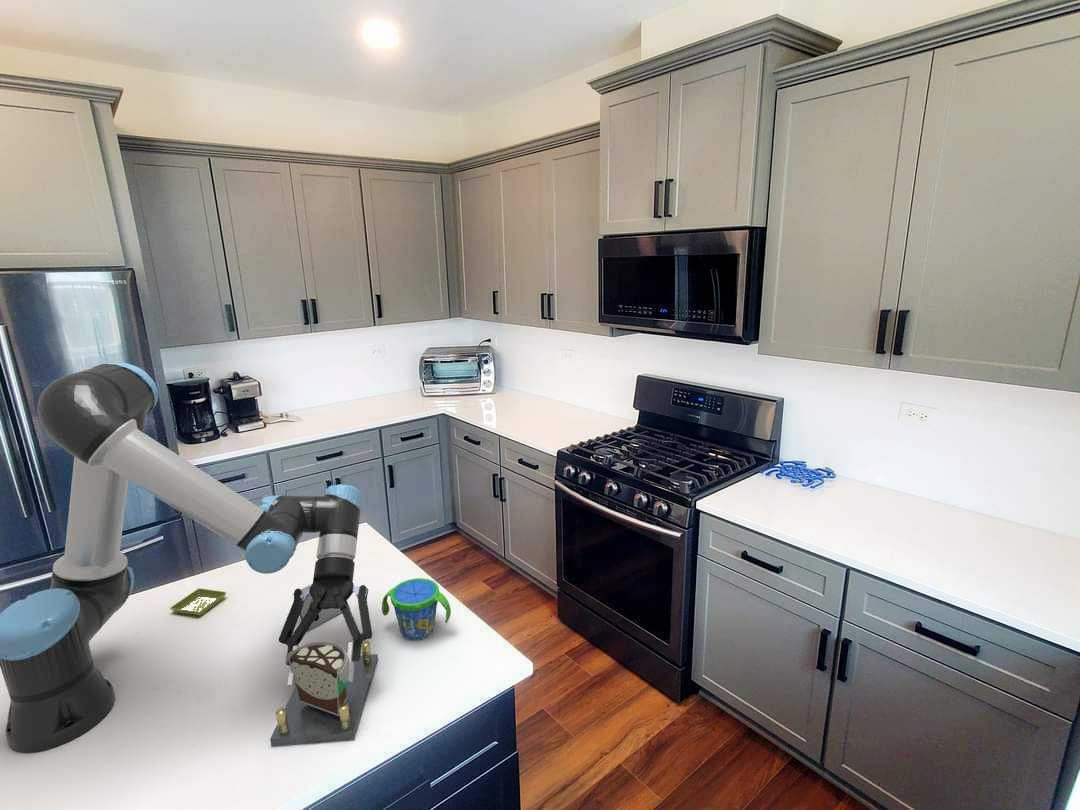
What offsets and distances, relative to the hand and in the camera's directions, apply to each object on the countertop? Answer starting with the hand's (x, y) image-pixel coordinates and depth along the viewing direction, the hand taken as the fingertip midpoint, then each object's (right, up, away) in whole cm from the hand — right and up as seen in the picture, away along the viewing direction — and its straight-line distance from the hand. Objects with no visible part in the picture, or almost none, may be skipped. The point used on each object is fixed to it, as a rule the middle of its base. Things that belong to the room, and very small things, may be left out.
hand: (320, 683), depth 101 cm
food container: (+1, -4, +2) cm, 4 cm away
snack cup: (+13, 0, +24) cm, 27 cm away
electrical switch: (-12, 0, +29) cm, 31 cm away
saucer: (-43, +1, +35) cm, 56 cm away
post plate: (0, -5, +5) cm, 7 cm away
